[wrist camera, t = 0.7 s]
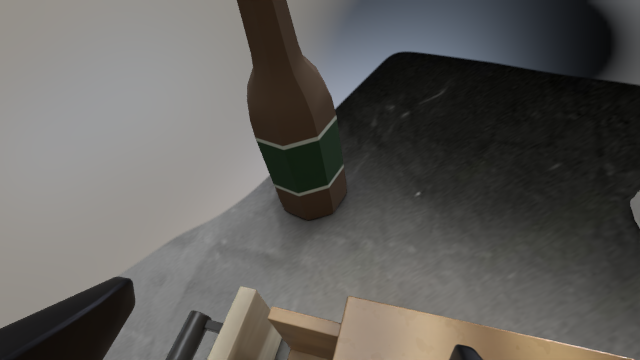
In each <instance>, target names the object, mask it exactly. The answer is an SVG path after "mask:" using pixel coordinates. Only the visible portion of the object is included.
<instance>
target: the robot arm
mask: <svg viewBox="0 0 640 360" xmlns="http://www.w3.org/2000/svg"><path fill="white" fill-rule="evenodd" d="M134 306H135V294H134V287H133V282H132V280H131V279H128V278H123V277H114V278H112V279H110V280H108V281H105V282H103V283H101V284H99V285H96V286H94V287H92V288H90V289H87V290H85V291H83V292H81V293H78V294H76V295H74V296H72V297H70V298H67V299H65V300H63V301H61V302H58V303H57V304H54V305H52V306H50V307H47V308H45V309H43V310H41V311H39V312H36V313H34V314H32V315H30V316H27V317H25V318H23V319H21V320H18V321H16V322H14V323H12V324H10V325H7V326H5V327H3V328H1V329H0V360H103V358H104V356H105V355H106V353H107V352H108V350H109V348H110V347H111V345H112V343H113V342H114V340H115V339H116V337H117V335H118V334H119V332H120V330H121V329H122V327H123V325H124V324H125V322H126V320H127V319H128V317H129V315H130V314H131V312H132V310H133V308H134ZM449 360H483V359H482V358H481V356H480V355H479V354H478V353H477V351H476V350H475V349H474V348H472V347H470V346H465V345H460V344H457V345H455V347H454V349H453V351H452V354H451V356H450V359H449Z"/></svg>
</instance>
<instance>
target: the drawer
mask: <svg viewBox="0 0 640 360" xmlns="http://www.w3.org/2000/svg"><path fill="white" fill-rule="evenodd" d="M340 327H341V323H337V322H333V321H329V320H325V319H321V318H317V317H313V316H309V315H305V314H301V313H297V312H293V311H289V310H285V309H281V308H277V307H271V310H270V308H269V307H268V306H267V304H266V303H265V301H264V300H263V299H262V297H261V296H260V294H259V293H258V292H257V290H255V289H251V288H246V287H242V286H241V287H240V289H239V291H238V293H237V295H236V297H235V300H234V302H233V304H232V306H231V308H230V311H229V313H228V315H227V317H226V319H225V322H224V324H223V323H219V322H216V321H212V319H211V318H210V317H209V316H207V315H205V314H203V313H201V312H198V311H191V312H190V314H189V316H188V318H187V320H186V322H185V323H184V325H183V327H182V329H181V331H180V333H179V335H178V337H177V339H176V341H175V342H174V344H173V346H172V348H171V350H170V352H169V354H168V356H167V358H166V360H193V358H194V355H195V353H196V351H197V349H198V347H199V345H200V343H201V341H202V339H203V337H204V335H205V333H206V330H208V331H211V332H215V333H218V334H219V335H218V337H217V339H216V341H215V344H214V346H213V348H212V350H211V352H210V355H209V357H208V359H207V360H274V359H275V356H276V353H277V350H278V347H279V344H280V341H281V338H283V339H284V341H285V342H286V343H287V345H288V346H289V347H290V348H291V349H290V353H289V356H288V359H287V360H333V356H334V352H335V348H336V343H337V339H338V335H339V331H340Z"/></svg>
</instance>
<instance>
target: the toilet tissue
mask: <svg viewBox="0 0 640 360" xmlns="http://www.w3.org/2000/svg"><path fill="white" fill-rule="evenodd" d="M630 204H631V208H632V211H633V215H634V220H635V221H636V223H637V224H638V226H639V228H640V191H639V192H637V194H636V196H635V197H634V198H632V199H631V201H630Z"/></svg>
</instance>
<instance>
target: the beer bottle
mask: <svg viewBox="0 0 640 360" xmlns="http://www.w3.org/2000/svg"><path fill="white" fill-rule="evenodd" d="M237 3H238V6H239V10H240V13H241V17H242V21H243V25H244V29H245V32H246V36H247V40H248V44H249V48H250V51H251V57H252V63H253V69H252V72H251V75H250V79H249V82H248V86H247V102H248V109H249V116H250V122H251V125H252V128H253V132H254V135H255V138H256V141H257V143H258V146H259V148H260V151H261V153H262V156H263V158H264V161H265V163H266V165H267V168H268V171H269V173H270V176H271V178H272V181H273V183H274V186H275V188H276V191H277V193H278V196H279V198H280V201H281V203H282V205H283V207H284V209H285V210H286V211H287V212H290V213H292V214H294V215H297V216H299V217H301V218H304V219H306V220H312V219H315V218H318V217H322V216H325V215H329V214H332V213H334V211H335V210H336V208H337V207H338V205H339V204H340V202H341V201H342V199H343V198H344V196H345V195H346V193H347V189H346V178H345V172H344V165H343V158H342V152H341V145H340V138H339V132H338V125H337V118H336V113H335V109H334V105H333V101H332V97H331V95H330V93H329V91H328V89H327V87H326V84H325V82H324V80H323V78H322V77H321V75H320V73H319V72H318V70H317V68H316V67H315V66H314V65H313V64H312V63H311V62H310V61H309V60H308V59H307V58H306V57H304V56H303V55H302V52H301V50H300V47H299V45H298V42H297V38H296V34H295V30H294V27H293V23H292V19H291V16H290V12H289V8H288V5H287V1H286V0H237Z"/></svg>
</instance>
